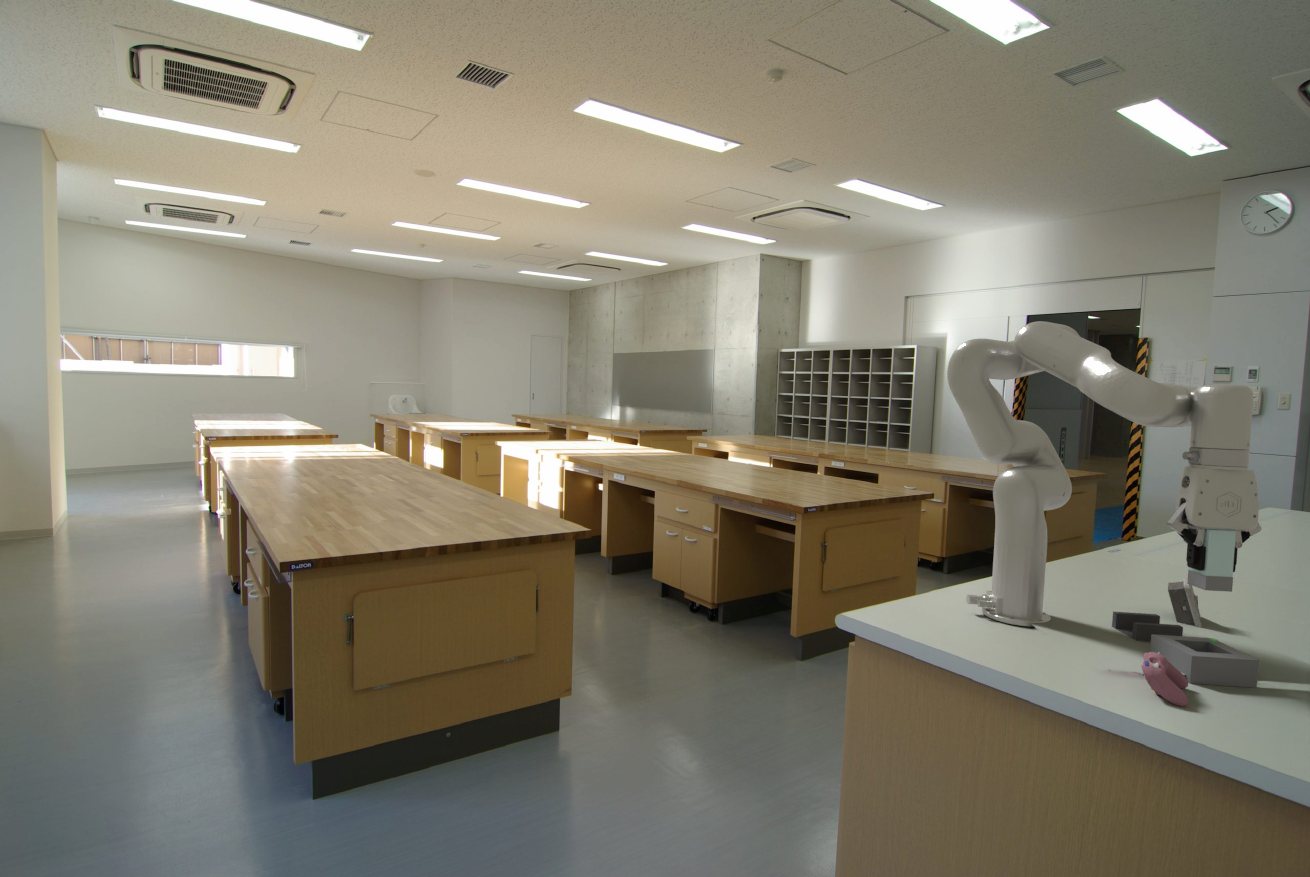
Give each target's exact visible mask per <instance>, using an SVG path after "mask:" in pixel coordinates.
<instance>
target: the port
mask: <svg viewBox="0 0 1310 877" xmlns="http://www.w3.org/2000/svg"><path fill="white" fill-rule="evenodd" d="M1149 647H1150V648H1149V652H1155V653H1158V652H1160V653H1161V655H1163V656H1165V658H1166V659H1167V660H1168V661H1169V662H1170V663H1171V664H1172V665H1173V666H1174V667H1175V668H1176V669H1177V670H1179V671H1180V672H1181V673H1182V674H1183V675H1184V676H1185V677H1186V679H1187V681H1188V684H1194V685H1210V686H1211V685H1212V686H1224V687H1227V686H1228V687H1238V688H1239V687H1241V688H1253V689H1257V688H1258V677H1259V667H1260V666H1259V665H1260V660H1259V659H1257V658H1255V657H1253V656H1251V655H1249V654H1247V653H1244V652H1242V651H1241V650H1238V649H1236V648H1235V647H1232V646H1229V645H1227V644H1226V643H1223V642H1222V641H1219V640H1218V639H1216V638H1214V637H1199V636H1186V635H1185V636H1184V635H1182V636H1170V635H1155V634H1151V642H1150V646H1149Z"/></svg>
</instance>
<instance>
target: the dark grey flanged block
mask: <svg viewBox="0 0 1310 877" xmlns="http://www.w3.org/2000/svg"><path fill="white" fill-rule="evenodd" d="M1160 622H1161V616H1160V615H1158V614H1157V613H1142V612H1124V611H1112V621H1111V628H1113V629H1115V630H1117V631H1119V632H1120V633H1122V634H1124V635H1126V636H1128V637H1129V638H1132V639H1133V640H1134V641H1137V642H1148V643H1151V634H1155V635H1170V636H1184V635H1183V634H1184V627H1183V626H1182V625H1180V624H1168V623H1160Z"/></svg>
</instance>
